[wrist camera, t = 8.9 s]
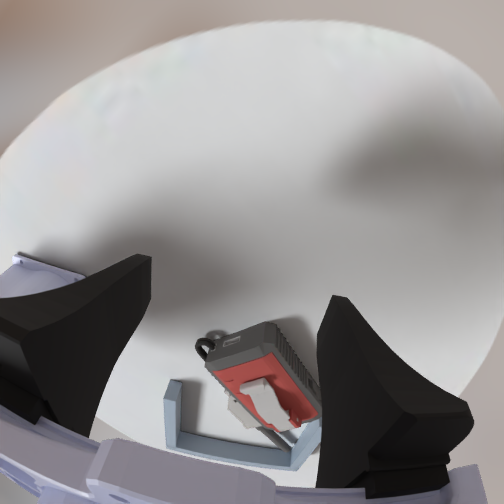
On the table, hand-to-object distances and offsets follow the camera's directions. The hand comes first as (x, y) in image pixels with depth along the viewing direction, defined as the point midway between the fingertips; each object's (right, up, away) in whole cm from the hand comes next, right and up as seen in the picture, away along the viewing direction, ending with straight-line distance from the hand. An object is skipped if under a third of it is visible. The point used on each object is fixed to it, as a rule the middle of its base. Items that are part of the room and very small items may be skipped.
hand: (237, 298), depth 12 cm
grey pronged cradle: (0, -17, +19) cm, 25 cm away
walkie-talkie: (+3, -12, +17) cm, 21 cm away
